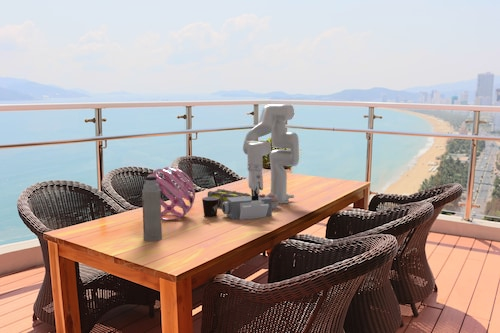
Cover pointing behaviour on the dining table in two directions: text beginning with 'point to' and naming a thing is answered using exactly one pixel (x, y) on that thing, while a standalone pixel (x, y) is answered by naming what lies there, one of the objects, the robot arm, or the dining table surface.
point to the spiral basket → (175, 191)
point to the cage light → (225, 195)
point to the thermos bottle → (151, 210)
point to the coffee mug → (210, 206)
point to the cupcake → (273, 200)
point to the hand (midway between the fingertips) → (255, 202)
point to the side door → (254, 210)
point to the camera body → (235, 204)
